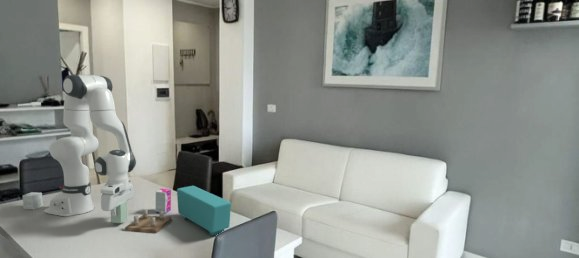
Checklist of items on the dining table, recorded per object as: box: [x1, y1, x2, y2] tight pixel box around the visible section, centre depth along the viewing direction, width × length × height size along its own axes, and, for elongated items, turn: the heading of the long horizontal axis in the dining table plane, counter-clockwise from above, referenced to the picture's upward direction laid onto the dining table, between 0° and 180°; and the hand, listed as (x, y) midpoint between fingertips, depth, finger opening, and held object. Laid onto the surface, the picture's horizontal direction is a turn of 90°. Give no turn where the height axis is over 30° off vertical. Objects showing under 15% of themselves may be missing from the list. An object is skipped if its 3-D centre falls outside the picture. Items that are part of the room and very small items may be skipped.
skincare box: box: [22, 191, 44, 210], centre depth 183 cm, size 6×6×7 cm
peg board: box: [124, 209, 172, 234], centre depth 165 cm, size 15×15×6 cm
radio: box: [176, 185, 232, 236], centre depth 167 cm, size 34×10×15 cm, turn 44°
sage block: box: [110, 201, 128, 224], centre depth 166 cm, size 5×5×9 cm
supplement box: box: [155, 188, 172, 215], centre depth 183 cm, size 6×6×12 cm
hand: (119, 213), depth 166 cm, fingers closed on sage block, 5 cm apart
